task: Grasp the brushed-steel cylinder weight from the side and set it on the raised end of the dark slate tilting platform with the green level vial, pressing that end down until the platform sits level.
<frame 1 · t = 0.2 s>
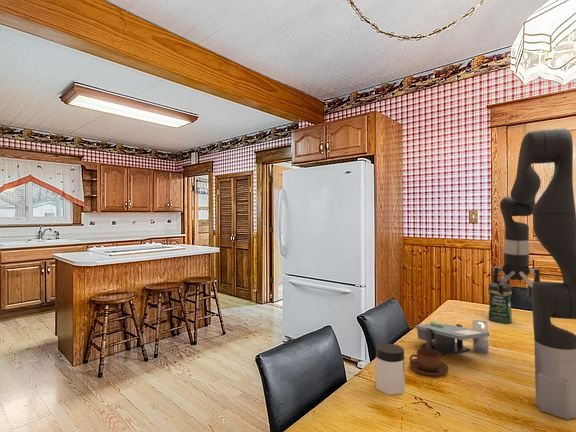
hand: (515, 295, 124), 22 cm above the table, tool pointing down, fingers open, 8 cm apart
coffee jar: (500, 321, 166), on the table
cup and saucer: (428, 371, 114), on the table
platform: (449, 333, 128), point 7 cm above the table, hinge at 8.0°
pivot stand: (444, 350, 131), on the table
jar: (390, 388, 102), on the table
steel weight: (480, 351, 129), on the table
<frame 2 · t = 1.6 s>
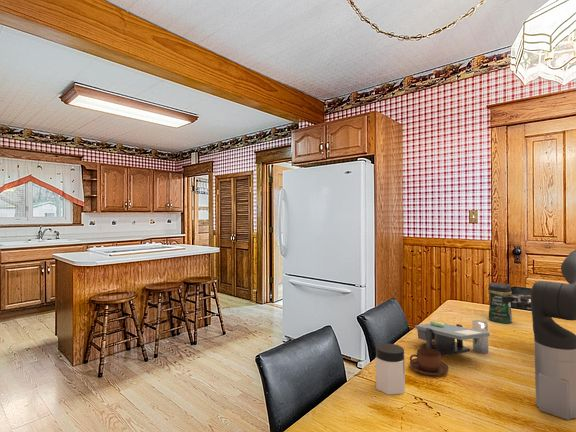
hand: (508, 302, 129), 18 cm above the table, tool horizontal, fingers open, 8 cm apart
nothing on the table moved.
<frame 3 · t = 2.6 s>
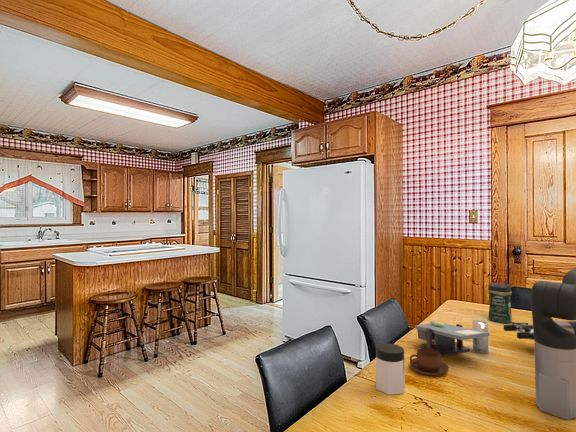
hand: (510, 331, 129), 7 cm above the table, tool horizontal, fingers open, 8 cm apart
nothing on the table moved.
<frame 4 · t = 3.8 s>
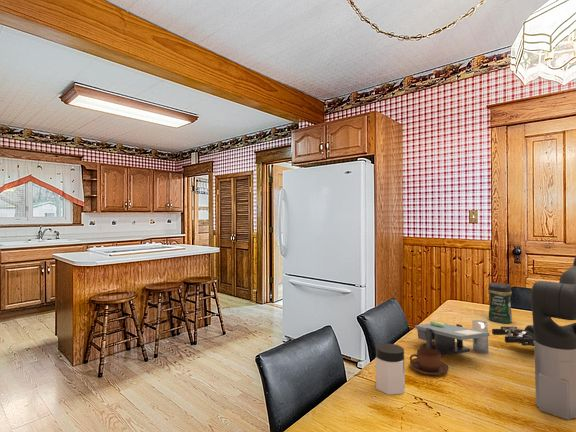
hand: (498, 335, 129), 6 cm above the table, tool horizontal, fingers open, 8 cm apart
nothing on the table moved.
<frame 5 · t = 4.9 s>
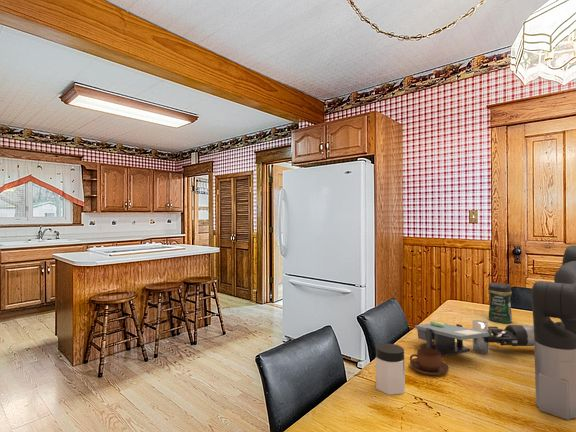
hand: (478, 335, 129), 6 cm above the table, tool horizontal, fingers open, 8 cm apart
nothing on the table moved.
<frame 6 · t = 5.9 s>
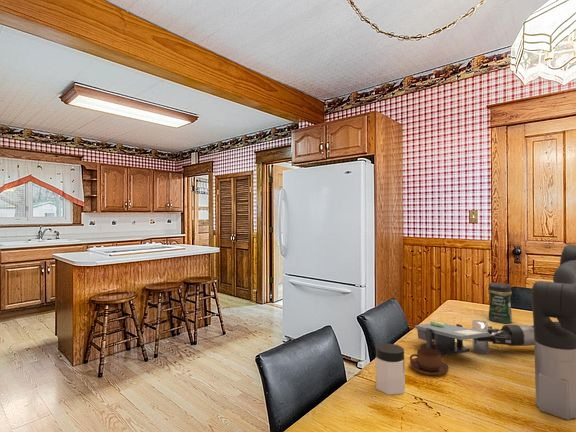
hand: (473, 335, 130), 6 cm above the table, tool horizontal, fingers closed on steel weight, 5 cm apart
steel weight: (480, 351, 129), on the table, touching gripper
everything else where it was.
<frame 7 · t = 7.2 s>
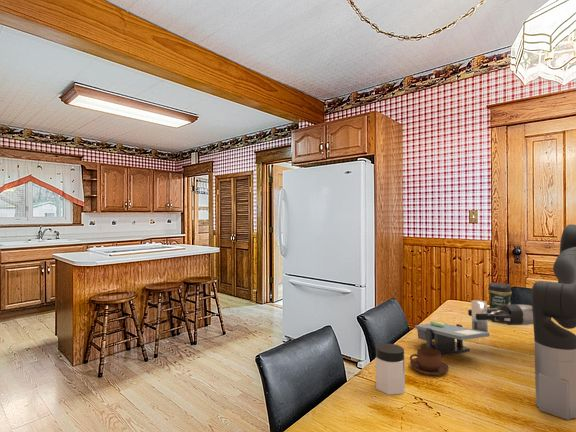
hand: (472, 314, 130), 14 cm above the table, tool horizontal, fingers closed on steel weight, 5 cm apart
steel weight: (479, 330, 129), point 8 cm above the table, touching gripper
everything else where it was.
when the fingers open (15 cm above the table, at t = 10.7 s): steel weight stays where it is, resting on platform.
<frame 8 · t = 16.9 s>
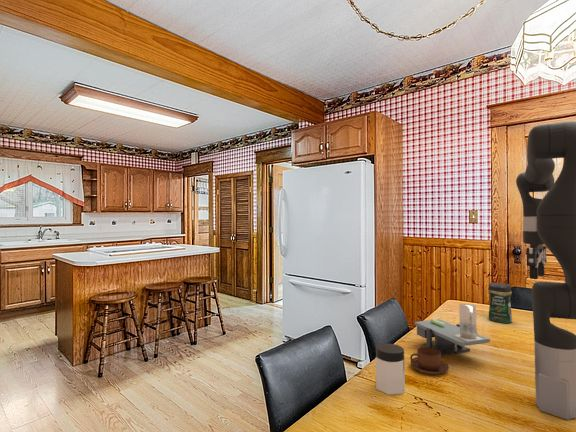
hand: (537, 277, 116), 30 cm above the table, tool pointing down, fingers open, 8 cm apart
platform: (449, 334, 129), point 7 cm above the table, hinge at -0.1°, touching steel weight
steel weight: (468, 336, 120), point 9 cm above the table, touching platform
at the end: platform at +0° (first picture: +8°); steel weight touching platform; the gripper is holding nothing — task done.
